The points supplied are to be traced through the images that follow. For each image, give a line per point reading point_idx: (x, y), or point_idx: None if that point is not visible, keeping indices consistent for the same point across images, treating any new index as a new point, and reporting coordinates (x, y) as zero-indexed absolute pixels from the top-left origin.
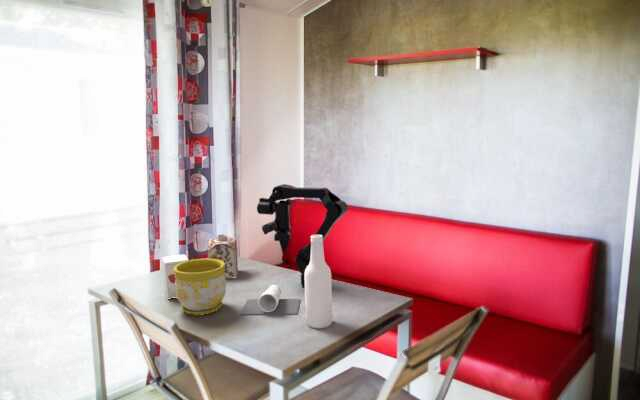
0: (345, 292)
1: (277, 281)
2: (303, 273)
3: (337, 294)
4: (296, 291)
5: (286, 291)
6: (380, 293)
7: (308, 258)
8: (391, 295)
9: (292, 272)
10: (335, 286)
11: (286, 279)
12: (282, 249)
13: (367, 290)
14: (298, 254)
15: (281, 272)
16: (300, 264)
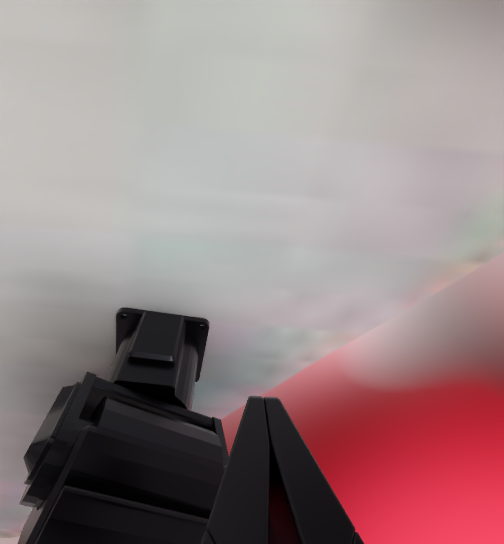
0: None
1: (277, 176)
2: (74, 385)
3: (31, 418)
4: (62, 273)
5: (59, 218)
6: None
7: (19, 539)
8: None
9: (419, 283)
10: None
11: (299, 238)
12: (233, 449)
13: None
14: (41, 532)
15: (459, 220)
16: (34, 440)
